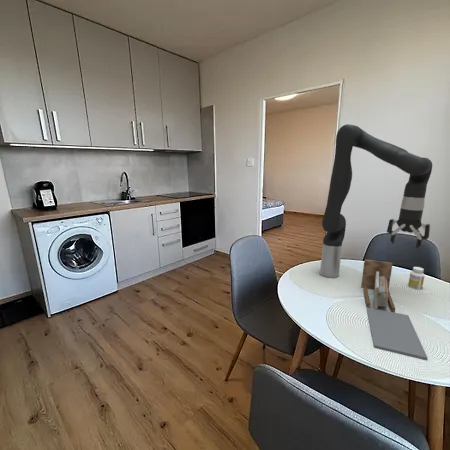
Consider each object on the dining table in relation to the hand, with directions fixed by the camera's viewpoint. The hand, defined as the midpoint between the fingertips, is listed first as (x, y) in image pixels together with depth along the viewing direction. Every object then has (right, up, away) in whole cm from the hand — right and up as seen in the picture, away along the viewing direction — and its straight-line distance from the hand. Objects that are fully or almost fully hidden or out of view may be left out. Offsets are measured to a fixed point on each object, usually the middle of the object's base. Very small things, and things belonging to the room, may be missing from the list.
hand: (404, 245), depth 107 cm
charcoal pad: (-17, -29, -17) cm, 38 cm away
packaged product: (-9, -24, +2) cm, 26 cm away
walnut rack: (-9, -24, +4) cm, 26 cm away
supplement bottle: (+15, -21, +14) cm, 29 cm away
